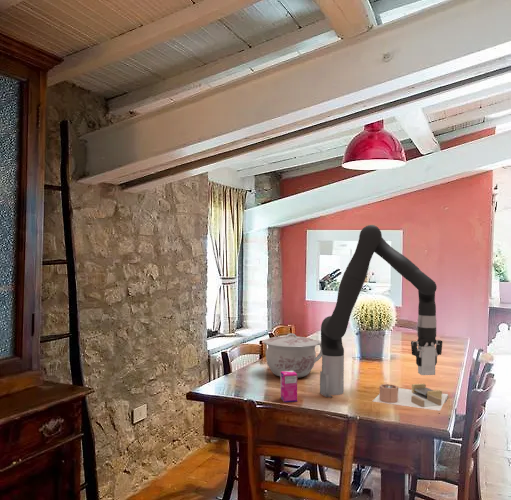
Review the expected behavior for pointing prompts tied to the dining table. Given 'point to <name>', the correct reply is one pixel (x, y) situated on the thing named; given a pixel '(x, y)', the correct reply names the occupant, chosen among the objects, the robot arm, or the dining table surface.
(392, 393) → the cup
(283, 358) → the chamber pot
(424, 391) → the plate
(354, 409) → the dining table surface
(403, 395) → the white square board
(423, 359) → the skincare box
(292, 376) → the supplement box
